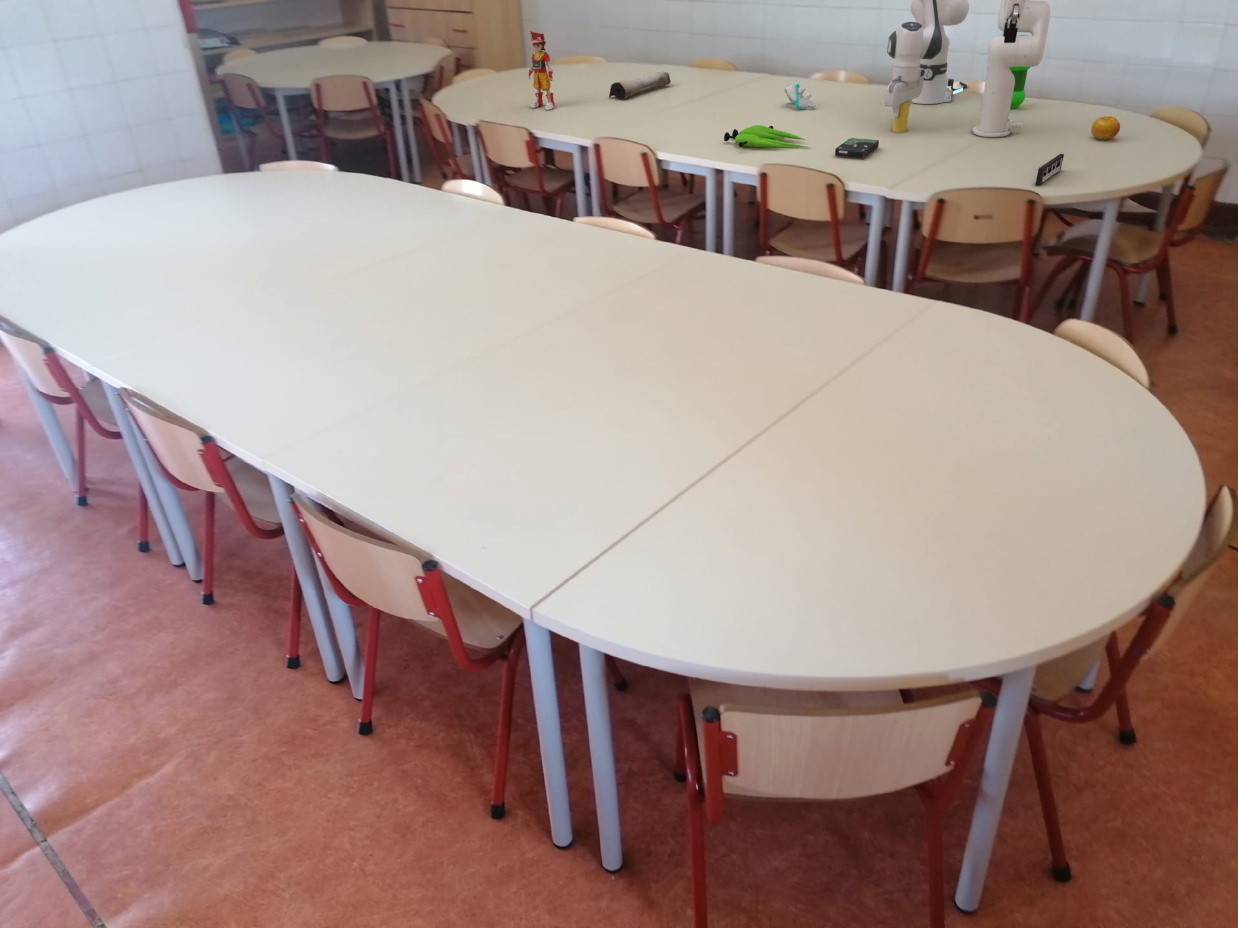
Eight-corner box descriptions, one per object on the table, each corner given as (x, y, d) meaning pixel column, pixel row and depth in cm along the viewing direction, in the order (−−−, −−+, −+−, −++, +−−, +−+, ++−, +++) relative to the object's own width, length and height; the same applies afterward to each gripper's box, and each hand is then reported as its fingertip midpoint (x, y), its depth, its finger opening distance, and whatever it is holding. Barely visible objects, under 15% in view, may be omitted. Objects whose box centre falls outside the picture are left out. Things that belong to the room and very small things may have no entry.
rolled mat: (651, 76, 408) (662, 61, 399) (662, 93, 408) (674, 79, 400) (605, 92, 391) (616, 77, 383) (617, 110, 391) (628, 95, 383)
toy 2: (713, 146, 317) (792, 161, 304) (715, 131, 314) (794, 145, 301) (747, 132, 337) (821, 146, 325) (748, 118, 334) (824, 131, 322)
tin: (890, 129, 328) (893, 100, 322) (903, 128, 328) (907, 99, 323) (894, 132, 324) (898, 103, 318) (908, 131, 324) (912, 102, 319)
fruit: (1087, 130, 301) (1105, 108, 298) (1084, 133, 309) (1101, 112, 306) (1109, 144, 300) (1127, 122, 297) (1105, 147, 308) (1122, 126, 305)
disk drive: (864, 160, 299) (878, 148, 309) (864, 151, 297) (879, 139, 307) (834, 157, 304) (849, 145, 314) (835, 148, 302) (850, 136, 312)
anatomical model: (780, 80, 363) (804, 74, 363) (784, 106, 369) (807, 100, 369) (789, 89, 351) (814, 82, 350) (792, 115, 357) (817, 109, 356)
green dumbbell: (1029, 106, 343) (1043, 35, 329) (1012, 111, 338) (1026, 39, 324) (1007, 102, 350) (1020, 32, 336) (989, 107, 345) (1002, 36, 331)
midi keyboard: (1039, 185, 269) (1043, 168, 266) (1035, 184, 270) (1038, 168, 267) (1060, 170, 279) (1064, 154, 277) (1056, 169, 280) (1060, 153, 277)
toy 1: (525, 109, 381) (517, 32, 364) (534, 104, 388) (527, 28, 371) (550, 110, 377) (543, 32, 360) (559, 105, 384) (553, 28, 367)
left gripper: (898, 81, 307) (894, 122, 315) (928, 69, 319) (922, 110, 327) (882, 79, 311) (878, 120, 319) (912, 67, 323) (906, 107, 331)
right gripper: (1005, -28, 269) (995, 34, 279) (1007, -20, 256) (996, 45, 265) (1032, -28, 267) (1020, 34, 277) (1035, -21, 253) (1023, 45, 263)
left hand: (900, 115), depth 323 cm, fingers closed on tin, 5 cm apart
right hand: (1008, 39), depth 271 cm, fingers open, 9 cm apart
